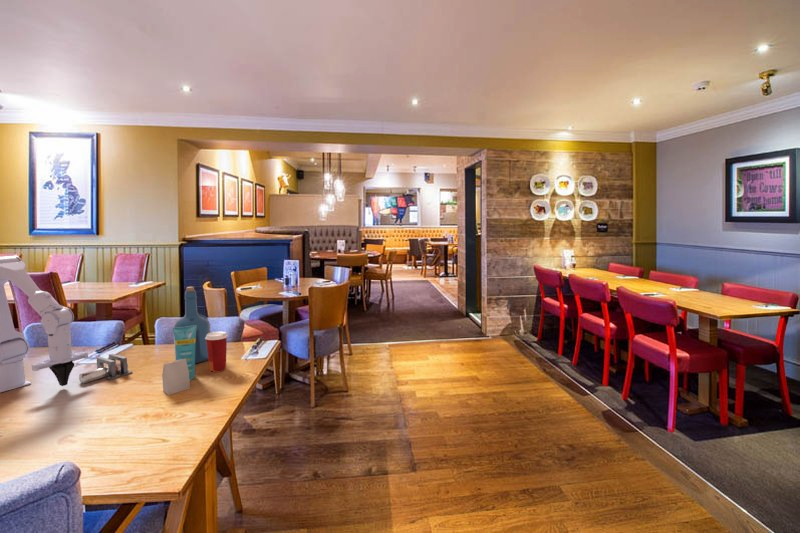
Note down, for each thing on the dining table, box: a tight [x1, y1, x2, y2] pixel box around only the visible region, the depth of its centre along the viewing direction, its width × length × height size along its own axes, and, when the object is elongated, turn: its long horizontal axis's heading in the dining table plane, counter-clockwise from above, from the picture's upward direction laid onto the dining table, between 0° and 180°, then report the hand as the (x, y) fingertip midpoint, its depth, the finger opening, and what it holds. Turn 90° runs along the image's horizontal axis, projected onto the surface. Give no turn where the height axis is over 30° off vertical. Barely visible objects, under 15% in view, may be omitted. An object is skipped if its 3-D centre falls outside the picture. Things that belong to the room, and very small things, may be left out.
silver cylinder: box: [78, 362, 129, 385], centre depth 140 cm, size 14×4×4 cm, turn 153°
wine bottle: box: [173, 286, 211, 364], centre depth 158 cm, size 14×13×30 cm
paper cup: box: [205, 330, 229, 373], centre depth 148 cm, size 8×8×14 cm
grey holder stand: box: [95, 356, 122, 381], centre depth 141 cm, size 4×11×6 cm, turn 63°
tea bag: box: [161, 359, 191, 396], centre depth 129 cm, size 4×7×10 cm, turn 142°
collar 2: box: [108, 353, 133, 377], centre depth 145 cm, size 4×11×6 cm, turn 63°
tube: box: [172, 325, 197, 381], centre depth 139 cm, size 7×5×19 cm, turn 123°
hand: (63, 384), depth 130 cm, fingers closed
